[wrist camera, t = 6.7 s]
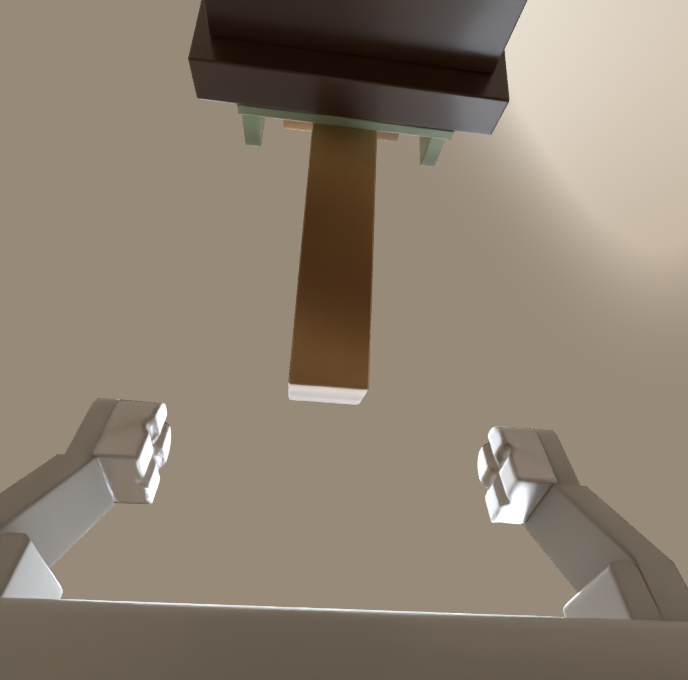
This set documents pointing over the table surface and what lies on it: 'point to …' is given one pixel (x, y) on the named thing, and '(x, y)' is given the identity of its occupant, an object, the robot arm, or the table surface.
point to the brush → (335, 266)
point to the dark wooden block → (358, 64)
